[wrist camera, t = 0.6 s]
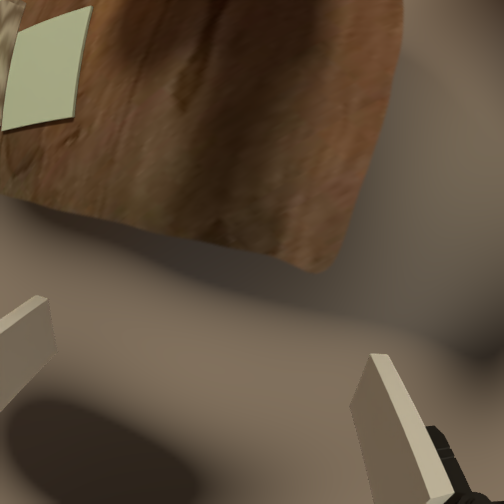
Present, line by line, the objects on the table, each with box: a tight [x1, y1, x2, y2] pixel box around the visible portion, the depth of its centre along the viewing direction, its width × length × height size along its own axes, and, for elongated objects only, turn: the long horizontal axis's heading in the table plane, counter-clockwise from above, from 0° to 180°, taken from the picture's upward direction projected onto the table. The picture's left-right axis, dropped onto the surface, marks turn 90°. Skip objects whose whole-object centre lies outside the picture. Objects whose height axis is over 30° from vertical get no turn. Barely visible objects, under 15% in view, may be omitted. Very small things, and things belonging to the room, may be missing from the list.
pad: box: [2, 6, 93, 131], centre depth 33 cm, size 18×16×1 cm
